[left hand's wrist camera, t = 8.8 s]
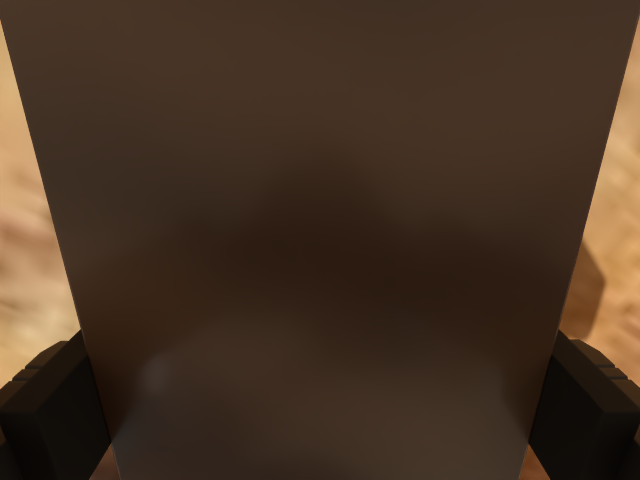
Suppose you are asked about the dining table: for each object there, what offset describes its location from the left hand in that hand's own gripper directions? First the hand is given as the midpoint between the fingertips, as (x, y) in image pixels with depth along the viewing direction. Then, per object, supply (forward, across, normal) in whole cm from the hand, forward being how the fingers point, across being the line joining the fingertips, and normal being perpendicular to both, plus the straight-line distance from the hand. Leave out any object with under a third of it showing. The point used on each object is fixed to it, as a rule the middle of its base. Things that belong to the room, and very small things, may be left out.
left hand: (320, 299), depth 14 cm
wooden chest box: (+3, 0, -4) cm, 6 cm away
